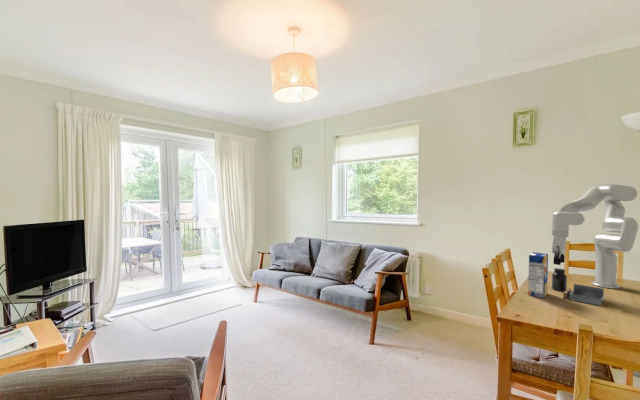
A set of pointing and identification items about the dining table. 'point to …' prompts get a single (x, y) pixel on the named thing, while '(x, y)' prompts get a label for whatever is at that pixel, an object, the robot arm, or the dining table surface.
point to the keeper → (587, 294)
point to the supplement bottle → (559, 280)
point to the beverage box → (538, 274)
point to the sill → (566, 293)
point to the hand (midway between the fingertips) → (558, 263)
